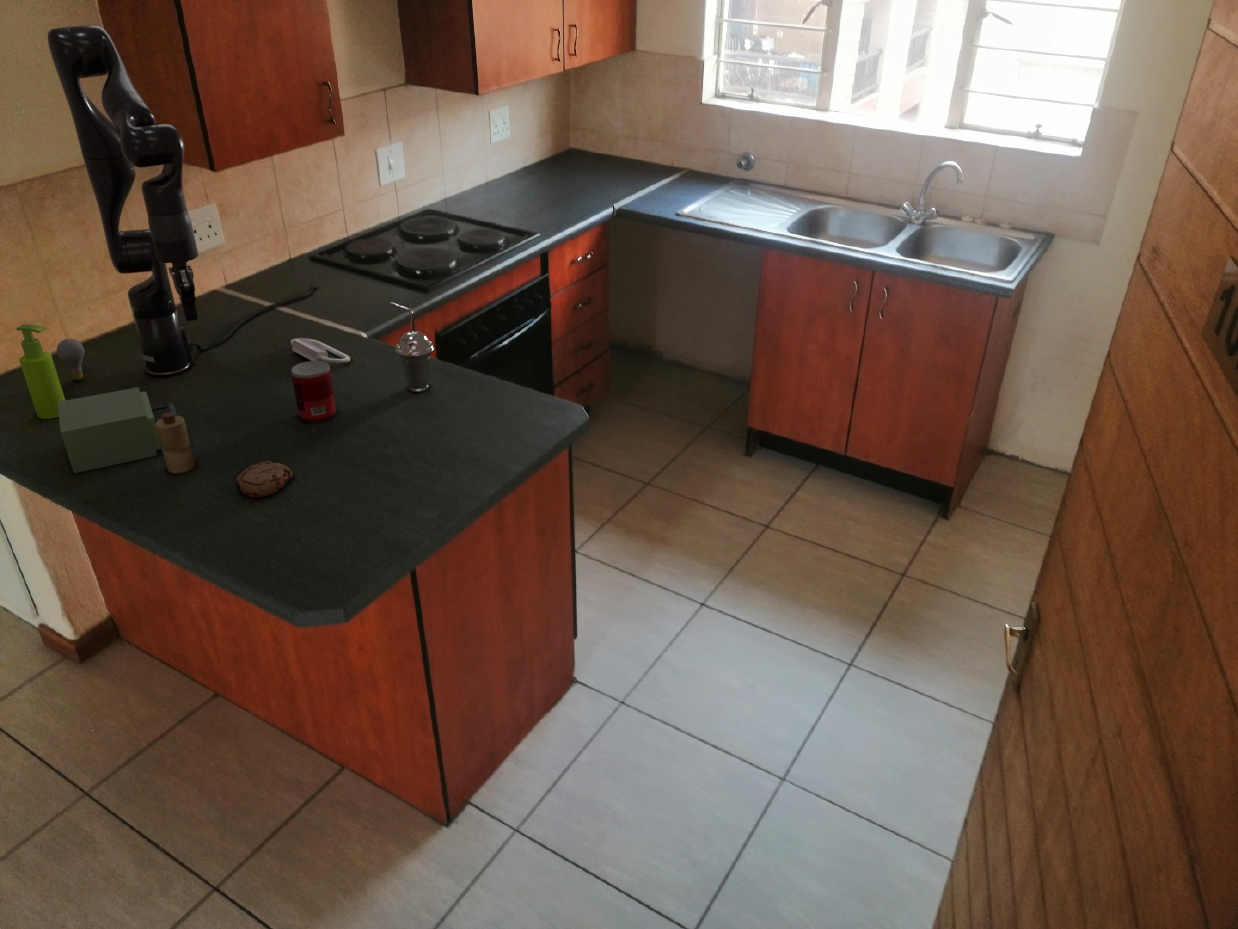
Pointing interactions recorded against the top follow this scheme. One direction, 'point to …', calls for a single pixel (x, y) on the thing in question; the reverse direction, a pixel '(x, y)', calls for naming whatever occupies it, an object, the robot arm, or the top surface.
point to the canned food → (313, 390)
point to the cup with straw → (415, 355)
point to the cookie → (263, 479)
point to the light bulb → (72, 356)
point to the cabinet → (105, 429)
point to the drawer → (150, 417)
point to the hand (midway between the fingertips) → (191, 319)
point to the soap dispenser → (40, 374)
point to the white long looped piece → (316, 350)
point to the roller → (175, 443)
